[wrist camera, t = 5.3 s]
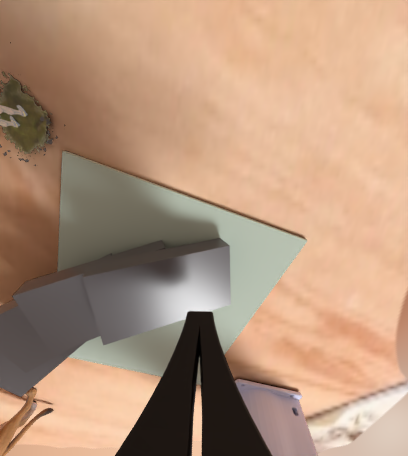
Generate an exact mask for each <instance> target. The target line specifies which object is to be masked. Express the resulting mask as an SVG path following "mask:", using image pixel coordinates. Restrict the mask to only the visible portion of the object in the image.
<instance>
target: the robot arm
mask: <svg viewBox="0 0 408 456" xmlns="http://www.w3.org/2000/svg"><path fill="white" fill-rule="evenodd" d="M199 357H200V377H201V397H202V456H318V455H317V452H316V449H315V446H314V443H313V440H312V437H311V434H310V431H309V428H308V425H307V423H306V420H305V417H304V414H303V411H302V408H301V405H300V402H299V399H301V398H302V395H301V393H300V392H296V391H291V390H287V389H282V388H278V387H273V386H269V385H264V384H260V383H255V382H251V381H246V380H242V379H237V380H235V381H234V378H233V376H232V373H231V371H230V368H229V366H228V363H227V361H226V358H225V355H224V352H223V350H222V347H221V344H220V341H219V337H218V334H217V330H216V326H215V322H214V316H213V313H212V312H210V311H189V312H187V316H186V320H185V323H184V327H183V330H182V332H181V335H180V338H179V340H178V343H177V345H176V348H175V350H174V352H173V355H172V357H171V359H170V361H169V363H168V365H167V368H166V370H165V372H164V374H163V376H162V378H161V380H160V382H159V384H158V385H157V387H156V389H155V391H154V393H153V395H152V396H151V398H150V400H149V402H148V403H147V405H146V407H145V409H144V410H143V412H142V414H141V415H140V417H139V419H138V420H137V422H136V424H135V425H134V427H133V428H132V430H131V432H130V433H129V435H128V436H127V438H126V439H125V441H124V442H123V444H122V446H121V447H120V449H119V450H118V452H117V453H116V455H115V456H192V434H193V414H194V402H195V393H196V384H197V374H198V365H199Z"/></svg>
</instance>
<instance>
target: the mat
mask: <svg viewBox="0 0 408 456" xmlns="http://www.w3.org/2000/svg"><path fill="white" fill-rule="evenodd" d="M217 238H221V239H222V240H223V241H225V242H226V243H227V244H228V245H230V286H231V305H228V306H225V307H222V308H219V309H215V310H212V311H210V312H212V313H213V316H214V322H215V326H216V330H217V334H218V337H219V341H220V344H221V347H222V350H223V352H224V355H225V353H226V352H227V351H228V349H229V348H230V347H231V345H232V344H233V342H234V341H235V340H236V338H237V337H238V336H239V334H240V333H241V331H242V330H243V329H244V327H245V326H246V325H247V323H248V322H249V320H250V319H251V318H252V316H253V315H254V314H255V312H256V311H257V309H258V308H259V307H260V305H261V304H262V303H263V301H264V300H265V299H266V297H267V296H268V294H269V293H270V292H271V290H272V289H273V288H274V286H275V285H276V283H277V282H278V281H279V279H280V278H281V277H282V275H283V274H284V272H285V271H286V270H287V268H288V267H289V266H290V264H291V263H292V261H293V260H294V259H295V257H296V256H297V255H298V253H299V252H300V251H301V249H302V248H303V246H304V245H305V244H306V242H307V240H306V239H305V238H302V237H299V236H297V235H294V234H291V233H288V232H286V231H283V230H280V229H277V228H275V227H272V226H269V225H267V224H264V223H261V222H258V221H256V220H253V219H250V218H247V217H245V216H242V215H239V214H237V213H234V212H231V211H228V210H226V209H223V208H220V207H217V206H215V205H212V204H209V203H207V202H204V201H201V200H198V199H196V198H193V197H190V196H187V195H185V194H182V193H179V192H177V191H174V190H171V189H168V188H166V187H163V186H160V185H157V184H155V183H152V182H149V181H147V180H144V179H141V178H138V177H136V176H133V175H130V174H127V173H125V172H122V171H119V170H117V169H114V168H111V167H108V166H106V165H103V164H100V163H97V162H95V161H92V160H89V159H87V158H84V157H81V156H78V155H76V154H73V153H70V152H67V151H62V170H61V195H60V219H59V244H58V269H57V272H58V271H61V270H65V269H68V268H71V267H74V266H78V265H81V264H84V263H88V262H91V261H94V260H97V259H100V258H102V257H104V256H106V255H108V254H110V253H112V255H114V254H117V253H120V252H124V251H127V250H130V249H133V248H137V247H140V246H143V245H147V244H150V243H153V242H156V241H160V240H162V242H163V244H164V246H165V249H167V248H172V247H177V246H182V245H187V244H192V243H197V242H202V241H207V240H212V239H217ZM185 320H186V319H184V320H181V321H178V322H175V323H172V324H169V325H166V326H163V327H159V328H156V329H153V330H150V331H147V332H144V333H141V334H138V335H135V336H131V337H128V338H125V339H122V340H119V341H116V342H113V343H110V344H107V345H103V343H102V339H101V336H99V337H96V338H94V339H91V340H89V341H87V342H85V343H84V344H83V345H82V346H80V347H79V348H78V349H77V350H76V351H75V352H73V353H72V354H71V355H70V356H69V357H70V358H75V359H80V360H84V361H89V362H94V363H99V364H103V365H108V366H113V367H118V368H123V369H127V370H132V371H137V372H142V373H146V374H151V375H156V376H161V377H162V376H163V374H164V372H165V370H166V368H167V365H168V363H169V361H170V359H171V357H172V355H173V352H174V350H175V348H176V345H177V343H178V340H179V338H180V335H181V332H182V330H183V327H184V323H185ZM197 384H199V385H201V377H200V357H199V365H198V374H197Z"/></svg>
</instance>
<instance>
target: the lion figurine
mask: <svg viewBox="0 0 408 456" xmlns="http://www.w3.org/2000/svg"><path fill="white" fill-rule="evenodd" d="M36 393H37V390H36V389H34V388H31V389H30V390H29V391H27V392H26V393H25V394H26V395H27V396H28V398H27V401H26V403H25V405H24V406H23V408H22V409H21V410H20V411H19V412H18V413H17V414H16V415H15V416H14V417H13V418H11V419H10V420H9V421H7V422H5V423H3V424H1V425H0V456H5V455H6V454H7V453H8V452H9V451H10V450H11V449H12V448H13V446H14V445H15V444H16V443H17V442H18V441H19V439H20V438H21V437H22V436H23V435H24V433H25V432H26V431H27V430H28V429H29V427H30V426H31V425H32V424H33V423H34V422H35V421H36V420H37V419H39V418H40V417H41V416H44V415H47V414H49V413H51V412H53V411H54V410H53V409H51V408H47V409H45V410H43V411H41V412H40V413H39V414H38V415H36V416H35V417H34V418H33V419H32V420H31V421H30V422H29V423H28V424H27V425H26V426H25V427H24V428H23V429H22V430H21V432H20V433H19V434H18V435H17V436H16V437H15V438H14V439H13V440H12V441H11V439H12V438H13V436H14V433H15V431H16V429H17V428H19V427H21V426H22V425H24V424H25V422H26V421H27V420H28V418H29V417H30V416H31V415H32V413H33V412H34V411H35V409H36V407H37V404H36V403H35V402H33V399H34V397H35V395H36ZM10 441H11V442H10Z"/></svg>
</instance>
